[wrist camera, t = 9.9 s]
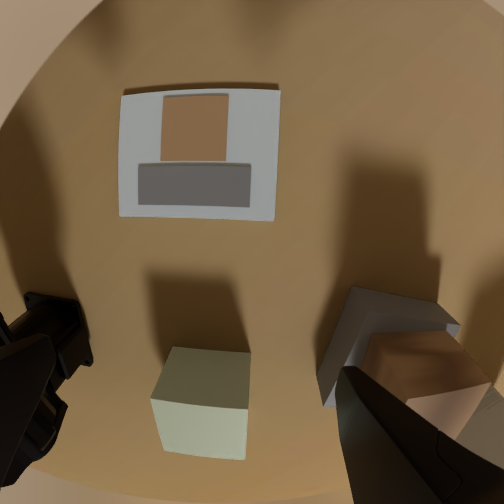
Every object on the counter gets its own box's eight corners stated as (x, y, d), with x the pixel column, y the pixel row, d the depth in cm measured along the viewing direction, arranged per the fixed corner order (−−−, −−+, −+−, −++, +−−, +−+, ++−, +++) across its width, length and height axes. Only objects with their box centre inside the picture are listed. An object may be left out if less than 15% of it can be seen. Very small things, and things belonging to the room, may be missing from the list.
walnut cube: (348, 402, 18) (368, 467, 13) (371, 332, 17) (408, 399, 11) (418, 394, 18) (447, 449, 13) (446, 330, 17) (491, 382, 11)
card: (122, 215, 19) (118, 217, 18) (124, 97, 16) (120, 95, 16) (273, 219, 18) (274, 222, 18) (280, 92, 16) (280, 89, 15)
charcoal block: (315, 372, 22) (323, 406, 19) (350, 283, 20) (368, 310, 16) (396, 379, 23) (411, 408, 19) (435, 301, 20) (460, 325, 16)
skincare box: (431, 437, 25) (471, 528, 11) (434, 410, 24) (486, 513, 10) (485, 406, 24) (535, 484, 10) (492, 376, 23) (555, 460, 9)
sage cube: (179, 399, 23) (164, 450, 18) (172, 345, 22) (150, 398, 16) (248, 405, 23) (245, 459, 18) (251, 352, 22) (248, 409, 16)
